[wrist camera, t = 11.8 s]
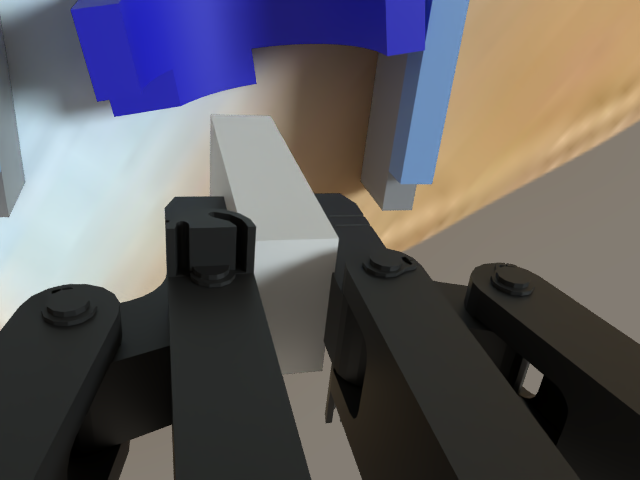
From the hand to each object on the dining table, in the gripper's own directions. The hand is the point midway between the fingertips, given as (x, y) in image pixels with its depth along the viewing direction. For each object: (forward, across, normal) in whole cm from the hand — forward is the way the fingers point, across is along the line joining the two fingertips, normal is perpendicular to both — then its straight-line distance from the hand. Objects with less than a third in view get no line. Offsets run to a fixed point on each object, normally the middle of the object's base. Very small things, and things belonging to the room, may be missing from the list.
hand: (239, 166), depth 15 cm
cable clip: (+13, +2, +2) cm, 13 cm away
